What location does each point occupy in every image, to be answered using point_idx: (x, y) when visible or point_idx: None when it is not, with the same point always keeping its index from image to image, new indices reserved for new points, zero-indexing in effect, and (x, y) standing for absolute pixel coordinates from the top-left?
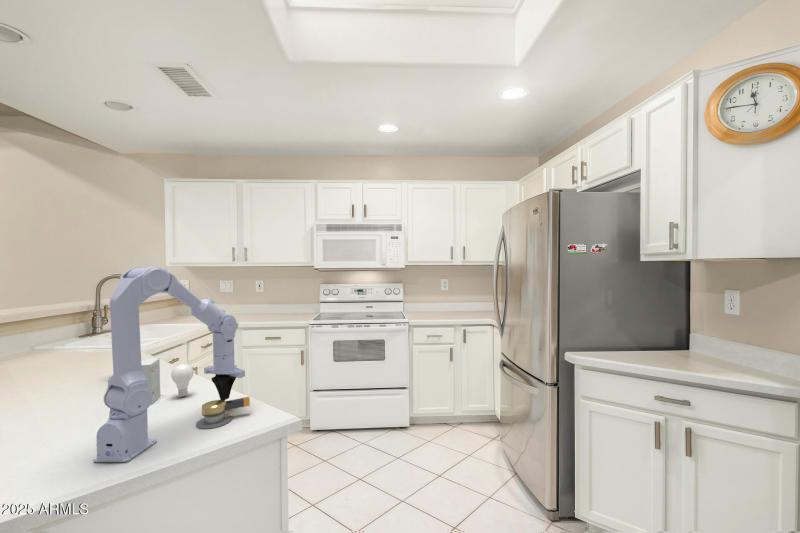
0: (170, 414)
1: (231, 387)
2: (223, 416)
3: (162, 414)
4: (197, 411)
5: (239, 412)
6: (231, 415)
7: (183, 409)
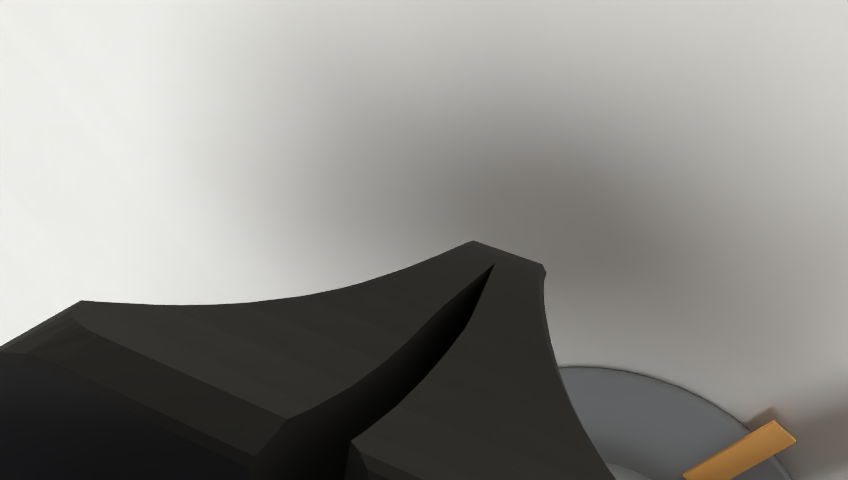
0: (70, 305)
1: (551, 365)
2: (655, 458)
3: (16, 300)
4: (234, 250)
5: (808, 308)
6: (761, 457)
7: (69, 197)
